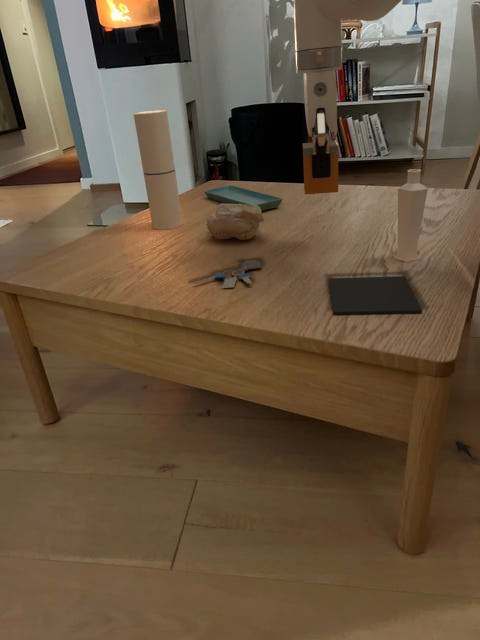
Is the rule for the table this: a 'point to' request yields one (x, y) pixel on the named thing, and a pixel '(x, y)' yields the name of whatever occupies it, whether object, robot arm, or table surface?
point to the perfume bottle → (410, 215)
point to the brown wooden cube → (320, 184)
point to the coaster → (372, 296)
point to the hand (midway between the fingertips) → (320, 172)
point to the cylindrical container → (158, 168)
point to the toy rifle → (231, 281)
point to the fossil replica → (235, 221)
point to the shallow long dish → (243, 197)
